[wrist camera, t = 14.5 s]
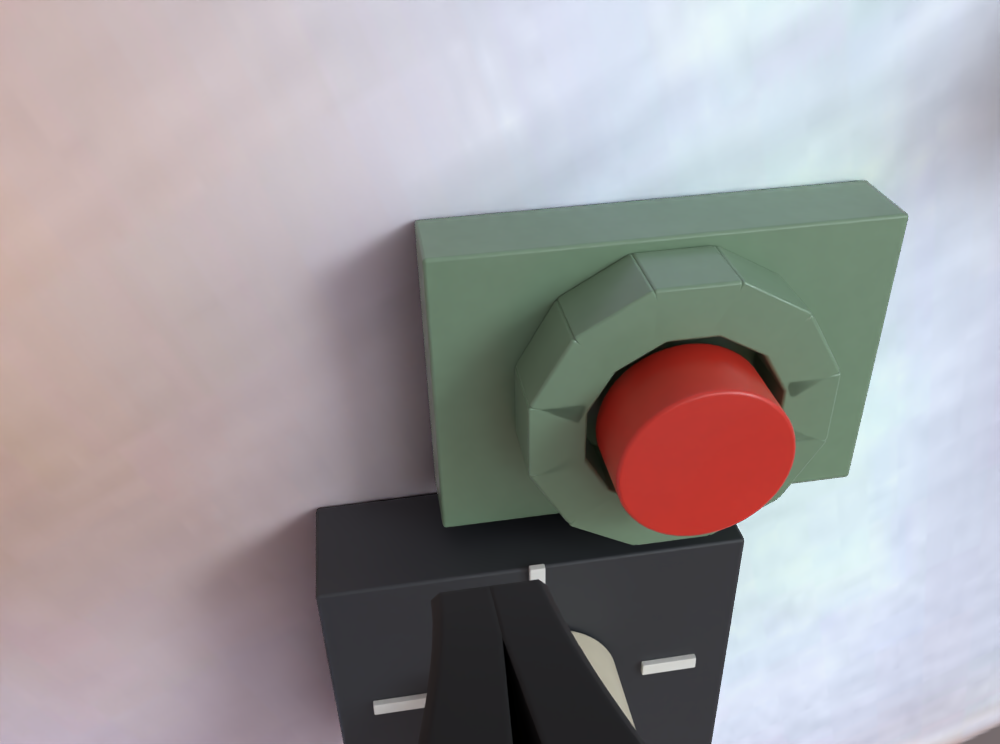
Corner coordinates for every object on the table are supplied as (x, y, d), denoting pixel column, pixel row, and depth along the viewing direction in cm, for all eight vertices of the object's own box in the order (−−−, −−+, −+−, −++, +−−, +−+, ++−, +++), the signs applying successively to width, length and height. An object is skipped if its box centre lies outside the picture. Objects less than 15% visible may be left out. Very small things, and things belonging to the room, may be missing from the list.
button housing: (434, 477, 24) (450, 579, 21) (413, 219, 20) (429, 300, 17) (815, 431, 25) (880, 522, 22) (866, 178, 21) (953, 248, 18)
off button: (592, 491, 21) (612, 548, 19) (597, 351, 19) (620, 402, 17) (751, 471, 21) (783, 525, 20) (774, 332, 19) (811, 381, 18)
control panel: (351, 713, 28) (354, 812, 26) (315, 504, 24) (314, 599, 21) (678, 664, 29) (713, 754, 27) (703, 457, 25) (749, 540, 22)
